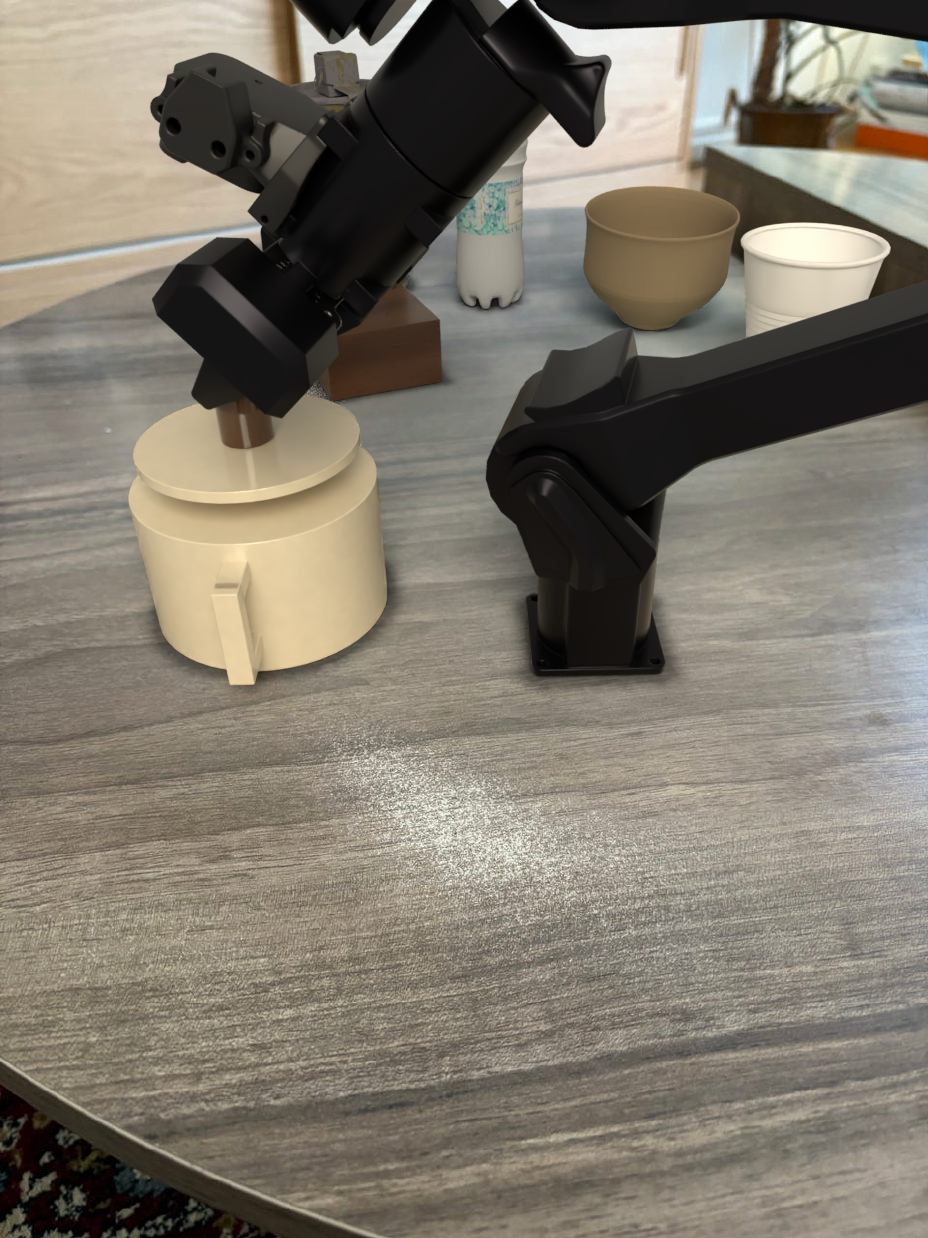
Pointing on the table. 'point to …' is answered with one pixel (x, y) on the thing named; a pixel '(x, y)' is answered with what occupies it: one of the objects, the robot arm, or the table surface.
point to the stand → (387, 349)
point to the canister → (335, 84)
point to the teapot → (266, 572)
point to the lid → (246, 451)
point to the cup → (806, 271)
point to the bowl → (657, 252)
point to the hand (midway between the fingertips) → (213, 388)
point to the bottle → (493, 238)
